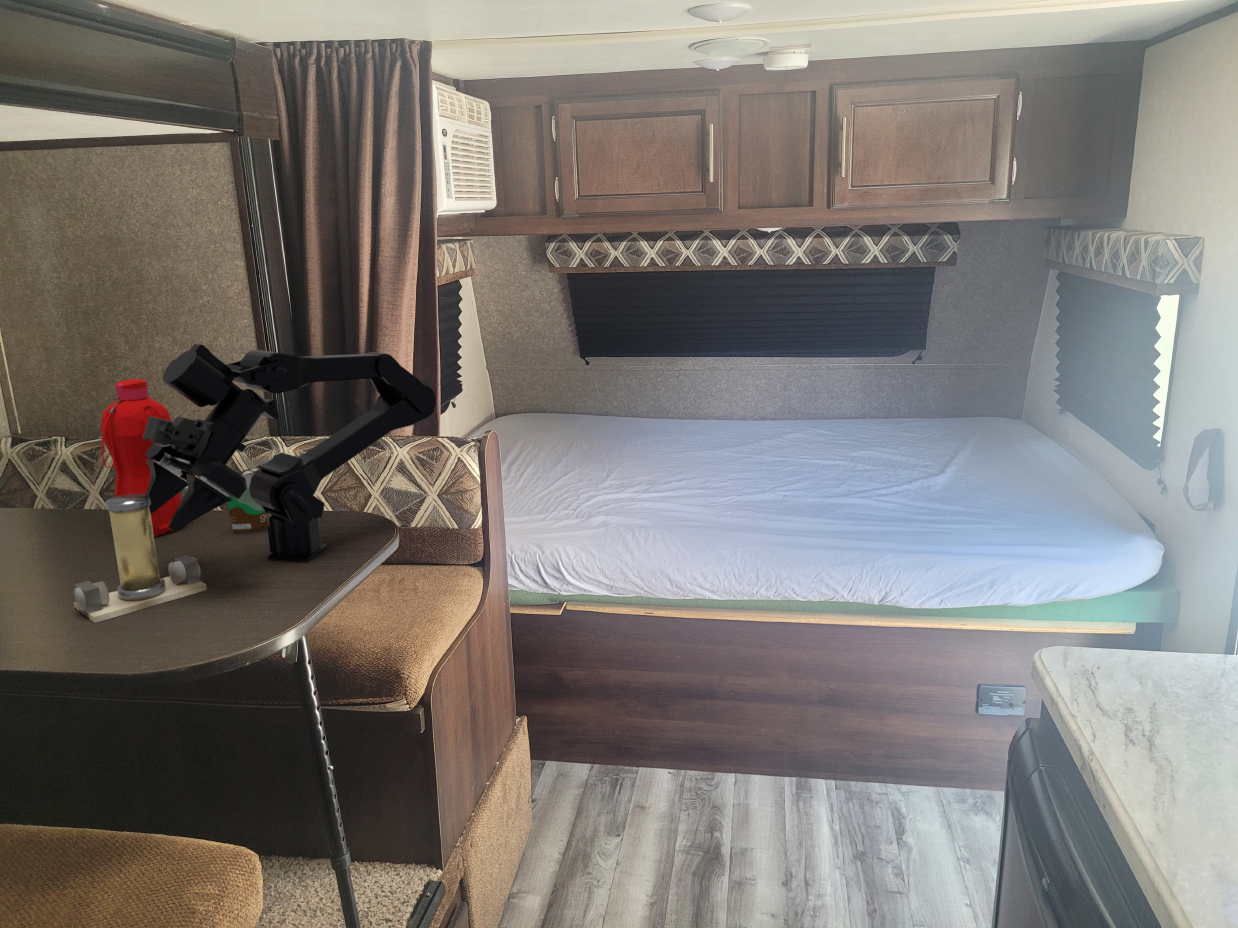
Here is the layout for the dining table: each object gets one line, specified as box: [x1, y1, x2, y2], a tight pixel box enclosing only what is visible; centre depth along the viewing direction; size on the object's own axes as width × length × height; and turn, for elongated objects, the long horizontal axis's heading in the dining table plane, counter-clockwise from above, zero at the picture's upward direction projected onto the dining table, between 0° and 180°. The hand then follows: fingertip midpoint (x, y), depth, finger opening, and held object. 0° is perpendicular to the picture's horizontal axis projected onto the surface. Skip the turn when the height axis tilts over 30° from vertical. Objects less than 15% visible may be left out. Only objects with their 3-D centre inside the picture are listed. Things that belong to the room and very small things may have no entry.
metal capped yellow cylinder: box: [105, 494, 166, 601], centre depth 115 cm, size 6×6×13 cm
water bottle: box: [99, 378, 183, 537], centre depth 141 cm, size 9×11×25 cm
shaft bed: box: [73, 554, 208, 624], centre depth 116 cm, size 15×7×4 cm, turn 139°
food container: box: [226, 458, 272, 535], centre depth 146 cm, size 12×6×10 cm, turn 170°
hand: (156, 522), depth 117 cm, fingers open, 9 cm apart
